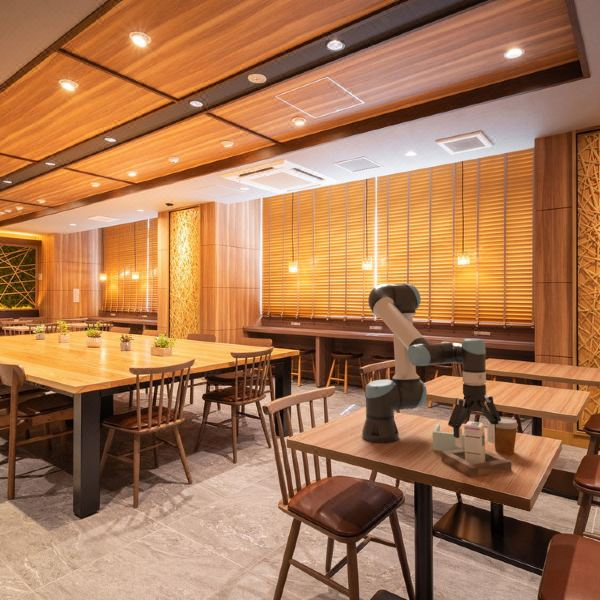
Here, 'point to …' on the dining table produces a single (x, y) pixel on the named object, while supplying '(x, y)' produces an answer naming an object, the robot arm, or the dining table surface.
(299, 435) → the dining table surface
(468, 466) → the socket block
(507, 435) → the disposable coffee cup
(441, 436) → the l-shaped corner panel
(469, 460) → the syrup box
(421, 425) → the dining table surface
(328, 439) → the dining table surface
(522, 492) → the dining table surface
